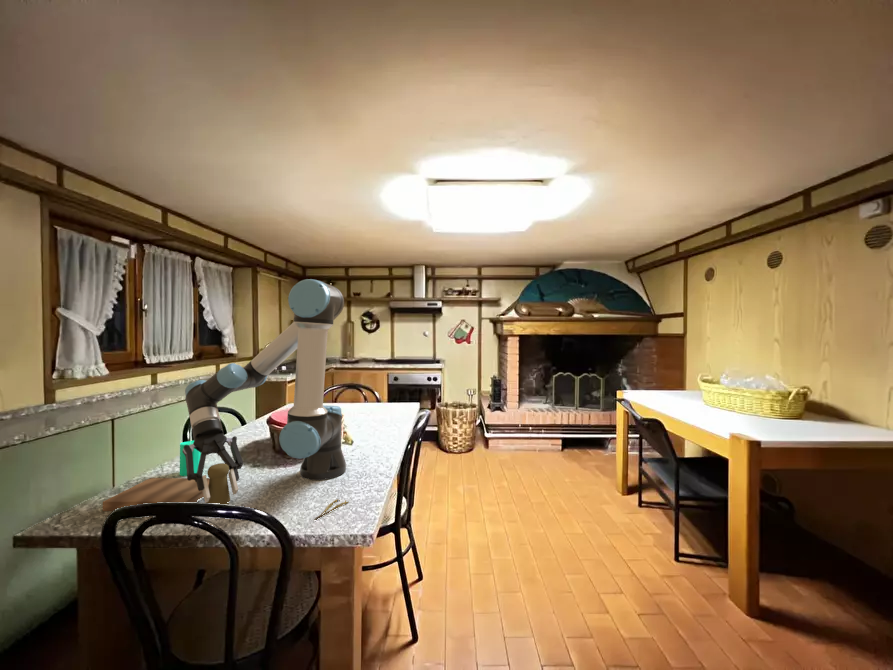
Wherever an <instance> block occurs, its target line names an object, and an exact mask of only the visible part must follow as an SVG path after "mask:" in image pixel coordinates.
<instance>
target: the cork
mask: <svg viewBox="0 0 893 670" xmlns="http://www.w3.org/2000/svg"><path fill="white" fill-rule="evenodd" d="M229 471H230V470H229V466H228V465H227V464H225V463H224V462H223V463H216V464H212V465H210V466H209V467H208V468H207V472H206V473H207V477H208V478H210V480H209V486H208V488H209V493H210V499H209V501H208V502H206V503H220V504H228V505H230V503H227V502H229V501H231V496H230V487H229V480H228V474H229ZM206 503H205V504H206Z"/></svg>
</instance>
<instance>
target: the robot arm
mask: <svg viewBox="0 0 893 670" xmlns="http://www.w3.org/2000/svg"><path fill="white" fill-rule="evenodd" d="M287 300H288V306H289V309H290V310H291V312H292V313H293V322H292V323H291V324H290V325H289V326H288V327H286V328H285V329H284V330H283V331H282V332H281V333H280V334H278V335H277V336H276V337H275V338H274V339H273V340H271V342H270V343H269V344H268V345H267V346H266V347H264V348H263V349H262V350H261V351H260V352H259V353H258V354H257V355H256V356H254V358H253V359H251V360H250V361H249V362H248V363H247V364H245V365H244V366H241V365H240V364H237V363H235V362H234V363H233V362H231V363H228V364H227V365H225V366H224V367H221V368H220V369H219V370H218V371H217V372H215V374H213V375H212V376H210V377H209V378H208V379H207V380H205V379H204V380H203V379H201V380H199V379H198V380H195V382H191V383H189V384H187V385H186V387H185V388H184V394H185V395H184V397H185V402H186V407H187V411H188V416H189V419H190V421H189V422H190V427H191V432H192V438H193V440H194V443H193V444H191V445H185V446H184V448H183V453H184V455H185V457H186V469H187V476H186V478H187V479H188V480H189V481H190V480H195V482H197V487H198V490H199V491H201V490H203V495H204V499H203V500H204V504H206V502H208V501H209V499H210V493H209V488H208V483H207V475H206V474H205V475H203V474H204V467H205V464H206V458H207V456H208V455H211V454H217V456H218V457H220V459H221V460H222V461H223V463H224V464H227V465H228V466H229V473H228V474H227V476H228V478H229V483H230V488H231V491H232V495H233V496H234V495H236V494H237V493H238V491H239V487H238V481H239V480H240V475H239V471H238V470H240V469H242V467H243V465H244V461H243V458H242V455H241V452H240V449H239V447H238V444H237V441H238V438H237V436H232V437H228V436H226V435H225V434H224V433H225V432H224V428H223V424H222V422H221V417H220V412H219V408H218V403H219V402H221V401H223V399H225V398H226V397H228V396H229V395H230V394H232V393H235V392H239V391H243V390H248V389H252V388H253V389H254V388H258V387H259V386H261V385H263V384H264V383H266V381H267V379H268V376H269V375H270V374H271V373H272V372H273V371H274V370H275V369H277V368H278V367H279V366H280V365H281V364H282V363H283V362H284V361H285V360H287V359H288V358H289V357H290V356H291V355H292V354H293V353H294V352H296V362H295V377H294V378H295V379H294V380H295V381H294V396H293V405H292V406H291V408H290V409H289V410H287V417H286V418H287V419H286V424H285V425H284V426H283V427H282V428H281V431H280V433H279V438H278V440H279V445H280V447H281V449H282V451H283V452H285V453H286V454H287V455H288V456H289V457H291V458H293V459H298V460H299V459H300V460H301V459H302V462H301V464H300V469H299V472H300V474H299V475H300V477H302V478H303V479H306V480H313V481H319V480H320V481H322V480H328V479H329V480H330V479H333V478H336V477H339V476H342V475H343V474H344V473H345V472H346V470H347V462H346V459H345V456H344V453H343V450H342V421H343V420H342V417H343V414H342V408H341V407H340V406H339V405H325V404H324V394H325V393H324V392H325V378H326V377H325V376H326V361H327V350H328V349H327V346H328V331H329V330H330V329H331V328H332V327H333V326H334V321H335V320H337V318H338V317H339V316H340V315H341V314H342V311H343V309H344V307H345V299H344V295H343V294H342V292H341V290H340V289H338V288H337V287H336V286H334V285H331V284H328V283H326V282H324V281H321V280H317V279H312V278H310V279H308V278H306V279H302V280H300V281H298V282H297V283H295V285H293V286H292V288H291V289H290V292H289V294H288V298H287ZM226 443H227V446H229V449H230V451H231V454H232V455H230V453H229V452H228V450H227V449H226V447H225V444H226ZM193 448H195V449H196V450H198V451H199V452H201V455H200V460H199V465H198V470H197V473H194V465H193V454H192V452H193ZM231 456H232V457H231Z"/></svg>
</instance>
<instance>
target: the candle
mask: <svg viewBox="0 0 893 670" xmlns="http://www.w3.org/2000/svg"><path fill="white" fill-rule="evenodd" d="M189 439H190V440H188V441H184V442H183V441H182V442H179V476H180V477H187V469H186V457H185V455H184V453H183V448H184V446H185V445H191V444H193V443H194V439H193V440H192V438H191V437H190V438H189ZM192 454H193V465H194V473H197V470H198V465H199V460H200V455H201V452H199V451H198V450H196V449H195V448H193V452H192Z"/></svg>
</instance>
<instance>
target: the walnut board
mask: <svg viewBox="0 0 893 670" xmlns="http://www.w3.org/2000/svg"><path fill="white" fill-rule="evenodd" d="M206 478H207V477H206ZM209 480H210V478H209V477H208V478H207V483H208V486H209ZM202 497H204V495H203V490H201V491H199V490H198V487H197V482H195V480H190V481H189V480H188V479H187V477H182V478H180V477H174V478H172V477H168V478H167V477H163V478H161V477H158V478H157V477H154V478H153V477H149V478H148V479H145V480H143V481H142V482H139V483H138V484H136V485H134V486H132V487H130V488H127V489H126V490H124V491H122V492H120V493H117V494H115V495H114V496H112V497H109V498H107V499H106V500H103V501H102V512H114V511H113V510H115V509H117V508H121V507H124V506H130V505H137V504H143V503H157V502H197V500H198V499H200V498H202Z"/></svg>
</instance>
